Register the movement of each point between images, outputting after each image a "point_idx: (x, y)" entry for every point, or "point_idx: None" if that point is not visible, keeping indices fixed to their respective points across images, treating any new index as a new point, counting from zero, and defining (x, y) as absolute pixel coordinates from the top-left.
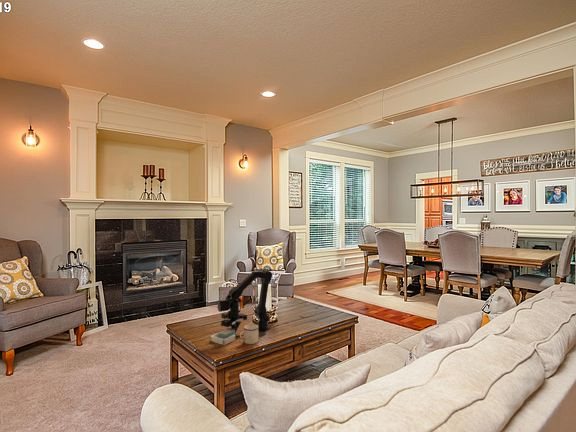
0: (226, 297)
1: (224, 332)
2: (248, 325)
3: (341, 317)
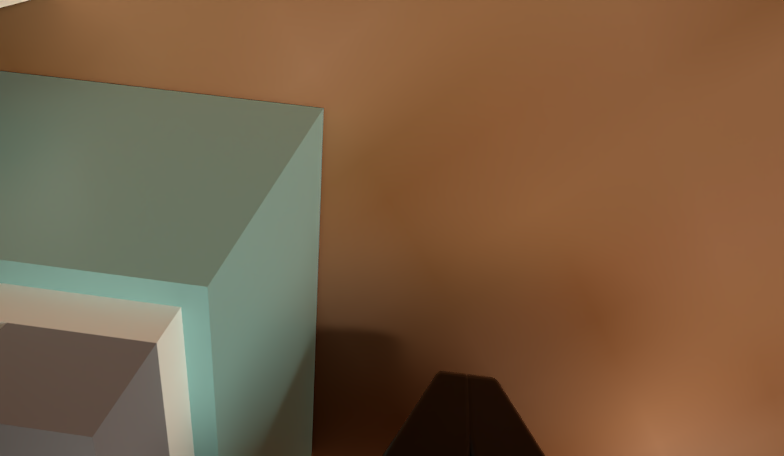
0: None
1: None
2: None
3: None
